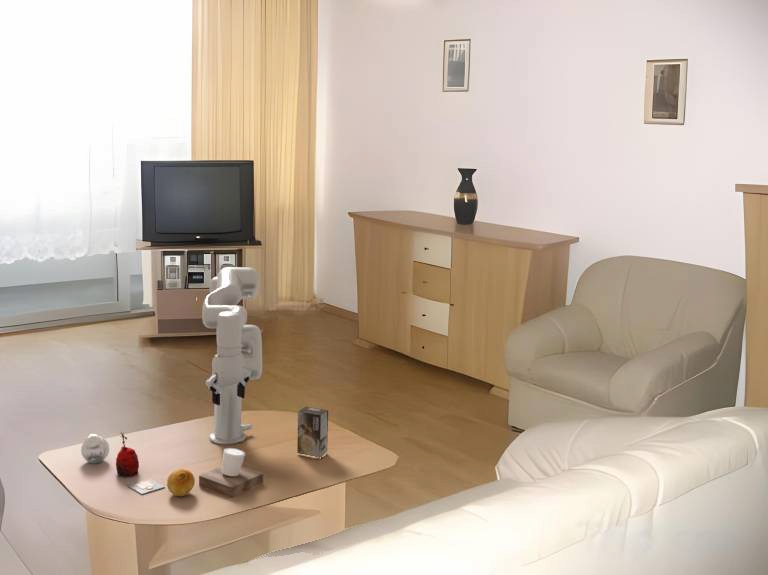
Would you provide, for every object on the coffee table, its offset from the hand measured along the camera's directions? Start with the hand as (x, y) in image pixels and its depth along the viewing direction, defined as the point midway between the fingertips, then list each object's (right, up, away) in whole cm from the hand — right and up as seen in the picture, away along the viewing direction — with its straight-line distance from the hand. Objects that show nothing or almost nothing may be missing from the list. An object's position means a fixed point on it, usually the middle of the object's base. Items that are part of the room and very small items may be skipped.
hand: (228, 400), depth 285 cm
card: (-23, -25, -12) cm, 36 cm away
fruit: (-12, -27, -16) cm, 33 cm away
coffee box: (+25, -22, +20) cm, 39 cm away
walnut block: (+2, -26, -7) cm, 27 cm away
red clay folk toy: (-32, -23, -2) cm, 40 cm away
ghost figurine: (-45, -21, +6) cm, 50 cm away
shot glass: (+2, -22, -8) cm, 23 cm away
